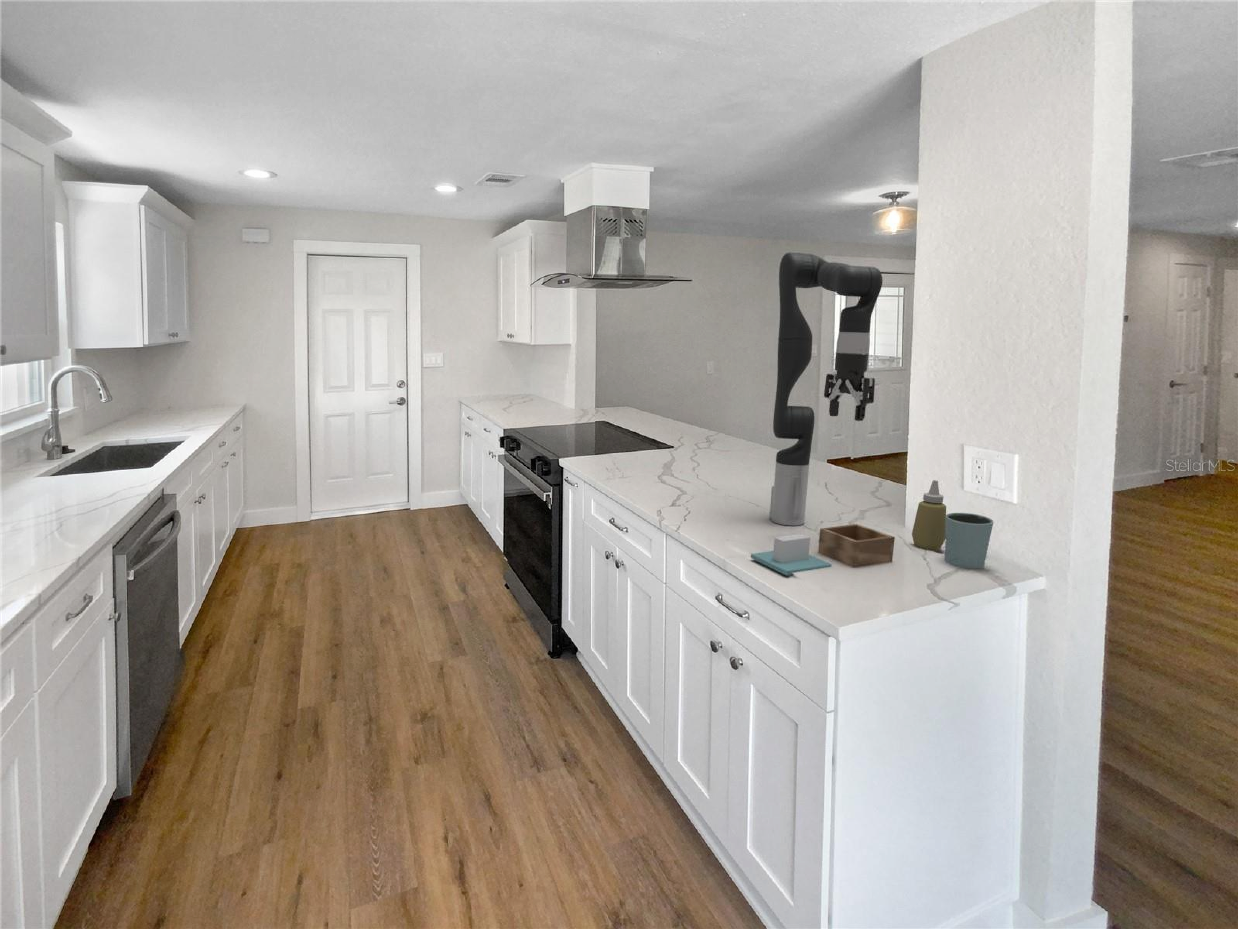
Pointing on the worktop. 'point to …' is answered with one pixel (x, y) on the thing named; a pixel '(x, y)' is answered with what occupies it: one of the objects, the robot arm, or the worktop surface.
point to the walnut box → (856, 545)
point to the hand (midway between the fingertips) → (846, 418)
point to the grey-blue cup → (967, 539)
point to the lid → (790, 555)
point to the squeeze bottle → (930, 520)
